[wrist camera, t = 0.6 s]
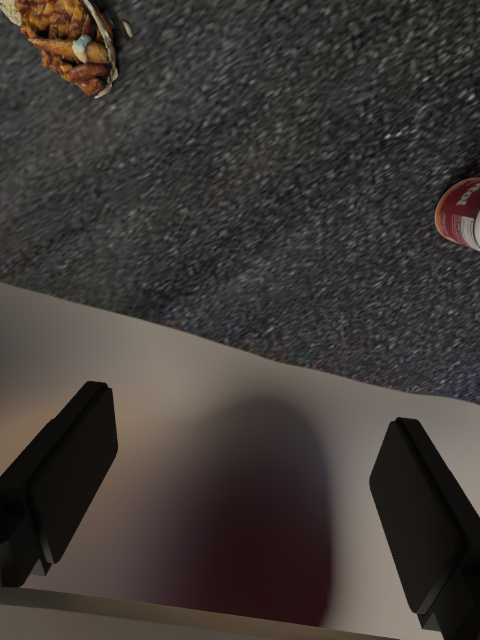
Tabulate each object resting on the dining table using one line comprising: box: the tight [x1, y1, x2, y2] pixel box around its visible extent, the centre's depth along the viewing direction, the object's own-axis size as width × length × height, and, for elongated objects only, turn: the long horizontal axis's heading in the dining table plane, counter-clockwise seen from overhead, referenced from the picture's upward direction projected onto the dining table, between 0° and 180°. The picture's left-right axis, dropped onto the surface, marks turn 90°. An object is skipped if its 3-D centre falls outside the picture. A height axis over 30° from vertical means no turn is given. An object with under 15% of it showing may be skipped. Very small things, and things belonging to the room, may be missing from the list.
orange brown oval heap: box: [0, 0, 132, 98], centre depth 27 cm, size 7×12×4 cm, turn 62°
